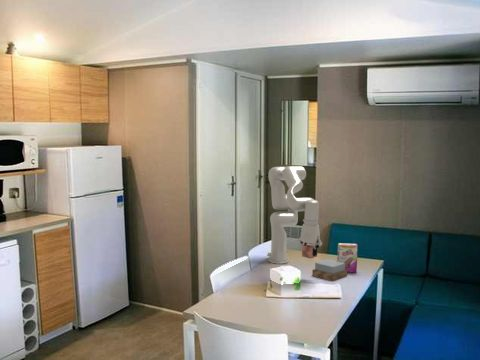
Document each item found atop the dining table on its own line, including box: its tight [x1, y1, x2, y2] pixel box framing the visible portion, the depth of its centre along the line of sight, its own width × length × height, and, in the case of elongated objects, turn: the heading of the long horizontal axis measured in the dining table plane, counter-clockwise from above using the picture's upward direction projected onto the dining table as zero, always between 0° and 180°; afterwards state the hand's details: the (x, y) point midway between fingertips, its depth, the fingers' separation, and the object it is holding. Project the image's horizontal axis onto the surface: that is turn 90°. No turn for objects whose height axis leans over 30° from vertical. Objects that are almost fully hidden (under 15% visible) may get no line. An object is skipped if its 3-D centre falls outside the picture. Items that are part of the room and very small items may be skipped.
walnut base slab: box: [311, 268, 348, 282], centre depth 267 cm, size 14×14×4 cm
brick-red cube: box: [301, 243, 319, 259], centre depth 259 cm, size 6×6×6 cm
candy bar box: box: [337, 242, 359, 274], centre depth 276 cm, size 11×5×16 cm, turn 84°
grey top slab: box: [314, 258, 345, 274], centre depth 267 cm, size 12×12×4 cm
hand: (309, 254), depth 259 cm, fingers closed on brick-red cube, 6 cm apart
